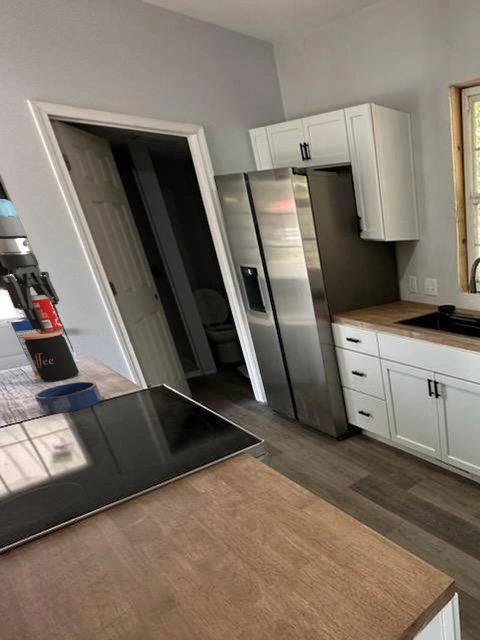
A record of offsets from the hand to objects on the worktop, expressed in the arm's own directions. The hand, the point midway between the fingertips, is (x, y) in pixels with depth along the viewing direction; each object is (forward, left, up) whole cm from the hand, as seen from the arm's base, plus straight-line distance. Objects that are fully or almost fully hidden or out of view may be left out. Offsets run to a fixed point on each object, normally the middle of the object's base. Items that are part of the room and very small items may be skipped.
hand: (47, 326), depth 135 cm
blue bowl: (+4, -8, -25) cm, 27 cm away
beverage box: (-34, +33, -25) cm, 54 cm away
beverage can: (0, 0, -2) cm, 2 cm away
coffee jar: (-23, +23, -25) cm, 41 cm away
